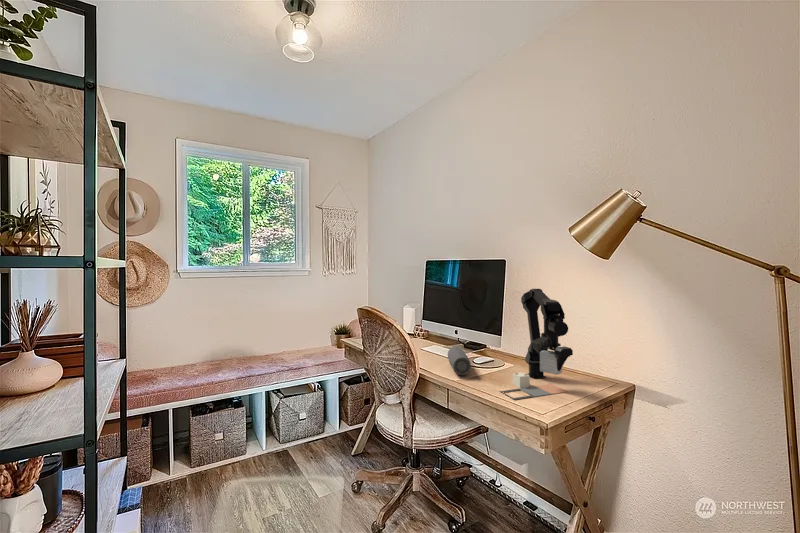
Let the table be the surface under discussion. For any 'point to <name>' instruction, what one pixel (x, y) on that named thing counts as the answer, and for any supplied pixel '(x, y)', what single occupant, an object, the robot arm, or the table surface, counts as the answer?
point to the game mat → (537, 391)
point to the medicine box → (548, 362)
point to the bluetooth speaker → (459, 360)
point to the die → (521, 380)
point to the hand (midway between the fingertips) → (551, 367)
